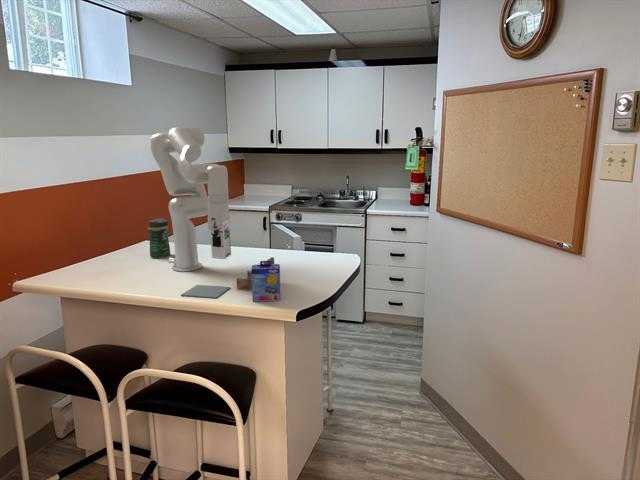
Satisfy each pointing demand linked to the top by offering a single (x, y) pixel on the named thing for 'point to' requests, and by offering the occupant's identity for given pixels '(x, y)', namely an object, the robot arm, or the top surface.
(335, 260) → the top surface
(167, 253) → the coffee jar
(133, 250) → the top surface
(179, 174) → the robot arm
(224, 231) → the syrup box
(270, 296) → the ink cartridge box
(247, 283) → the stair flight
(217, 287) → the grey mat
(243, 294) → the top surface
